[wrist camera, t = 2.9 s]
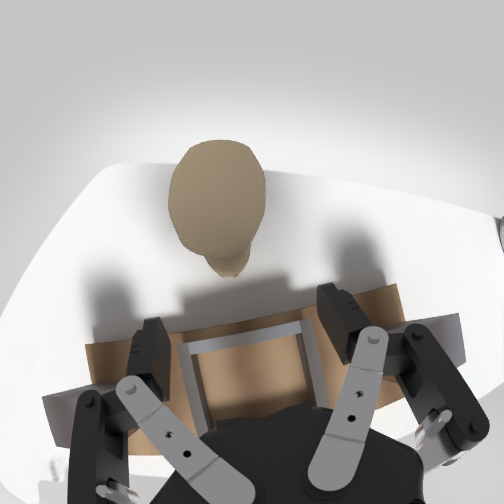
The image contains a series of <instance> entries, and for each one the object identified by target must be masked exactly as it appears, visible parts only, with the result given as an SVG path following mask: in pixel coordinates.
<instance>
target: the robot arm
mask: <svg viewBox="0 0 504 504" xmlns="http://www.w3.org/2000/svg"><path fill="white" fill-rule="evenodd" d="M500 238H501V243H502V247H503V250H504V217H503V218H502V219H501V222H500ZM317 314H318V318H319V320H320V322H321V324H322V326H323V328H324V330H325V331H326V333H327V335H328V337H329V339H330V341H331V343H332V345H333V347H334V349H335V350H336V352H337V354H338V356H339V358H340V360H341V362H342V364H343V366H344V365H347V364H351V365H350V366H349V368H348V371H347V374H346V377H345V380H344V383H343V386H342V389H341V392H340V395H339V397H338V400H337V403H336V405H335V408H334V410H333V409H330V408H325V407H312V405H311V403H310V401H308V402H304V403H301V404H297V405H293V406H289V407H286V408H284V409H282V410H280V411H278V412H276V413H274V414H272V415H270V416H267V417H264V418H247V417H238V418H232V419H225V420H219V421H216V426H217V427H216V428H213V429H211V430H209V431H207V432H206V433H204V434H203V435H202V436H201V437H200V438H198V437H197V436H196V435H195V434H193V433H192V432H191V431H190V430H189V429H188V428H187V427H186V426H185V425H184V424H183V423H182V422H181V421H180V420H179V419H178V418H177V417H176V416H175V415H174V414H173V413H172V412H171V410H170V409H169V408H168V407H167V406H166V405H163V402H167V401H170V369H171V343H170V339H169V336H168V334H167V332H166V330H165V327H164V325H163V323H162V321H161V319H160V317H155V318H149V319H145V320H144V325H143V330H137V332H136V333H135V335H134V336H133V338H132V343H131V348H130V354H129V359H128V364H127V370H126V376H125V378H123V379H122V380H120V381H119V383H118V384H117V386H116V389H115V390H113V391H110V392H107V393H104V394H102V395H100V393H99V392H98V391H96V390H87V391H84V392H83V393H82V394H81V395H80V396H79V397H78V400H77V404H76V410H75V416H74V423H73V430H72V438H71V447H70V457H69V471H68V496H67V498H68V500H67V504H141V501H140V498H139V496H138V495H137V493H136V492H134V491H133V490H131V489H129V468H128V431H129V430H132V429H135V428H138V427H140V429H141V430H142V431H143V433H144V434H145V435H146V436H147V438H148V439H149V440H150V441H151V442H152V444H153V445H154V446H155V447H156V448H157V449H158V451H159V452H160V453H161V454H162V455H163V456H164V457H165V459H166V460H167V461H168V462H169V463H170V464H171V465H172V466H173V467H174V468H175V469H176V470H175V471H174V472H173V474H172V475H171V476H170V478H169V479H168V480H167V482H166V483H165V484H164V486H163V487H162V488H161V490H160V491H159V492H158V494H157V495H156V496H155V497H154V499H153V500H152V501H151V502H150V504H426V503H425V501H424V497H423V476H424V475H425V474H426V473H428V472H430V471H432V470H434V469H436V468H437V467H439V466H441V465H443V466H448V465H451V464H452V463H454V462H455V461H457V460H458V459H459V458H461V457H462V456H463V455H464V454H466V453H467V452H468V451H469V450H471V449H472V448H473V447H475V446H476V445H477V444H478V443H479V442H481V441H482V440H483V439H484V438H485V437H486V436H487V434H488V432H489V428H490V424H489V420H488V418H487V417H486V414H485V413H484V411H483V409H482V408H481V406H480V404H479V403H478V401H477V399H476V398H475V396H474V394H473V393H472V391H471V390H470V388H469V386H468V385H467V383H466V382H465V380H464V379H463V377H462V376H461V374H460V373H459V371H458V370H457V368H456V367H455V365H454V364H453V362H452V361H451V359H450V358H449V356H448V355H447V354H446V352H445V351H444V349H443V348H442V347H441V345H440V344H439V342H438V341H437V340H436V338H435V337H434V336H433V334H432V333H431V331H430V330H429V329H428V328H427V327H426V326H424V325H422V324H418V323H415V324H410V325H408V326H407V327H406V329H405V331H404V333H387V332H386V331H385V330H384V329H382V328H380V327H376V326H374V325H373V324H372V323H371V321H370V320H369V318H368V317H367V316H366V314H365V313H364V311H363V310H362V309H361V308H360V306H359V304H358V303H357V302H356V300H355V299H354V298H353V296H352V295H351V294H350V293H348V292H347V291H345V290H339V291H338V290H337V288H336V287H335V285H334V284H333V283H332V282H331V283H327V284H322V285H318V286H317ZM390 375H394V377H395V379H396V381H397V382H398V384H399V386H400V388H401V390H402V392H403V394H404V396H405V398H406V400H407V402H408V404H409V406H410V408H411V410H412V412H413V414H414V416H415V418H416V420H417V422H418V424H419V427H418V428H417V430H416V432H415V440H416V445H417V446H416V451H415V450H414V449H413V448H411V447H410V446H408V445H405V444H403V443H401V442H399V441H396V440H394V439H392V438H390V437H388V436H386V435H383V434H381V433H379V432H377V431H375V430H373V429H371V428H370V424H371V421H372V417H373V414H374V410H375V406H376V402H377V398H378V394H379V390H380V386H381V382H382V377H383V376H390Z"/></svg>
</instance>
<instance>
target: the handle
mask: <svg viewBox="0 0 504 504" xmlns="http://www.w3.org/2000/svg"><path fill="white" fill-rule="evenodd" d="M168 209H169V213H170V217H171V220H172V222H173V225H174V228H175V230H176V232H177V235H178V237H179V240H180V241H181V243H182V244H183V246H184V247H186V248H187V249H189V250H190V251H192V252H194V253H196V254H199V255H203V256H205V258H206V260H207V262H208V264H209V265H210V266H211V268H212V269H213V270H214V271H215V272H217V273H218V274H219V275H220V276H221V277H226V276H232V277H237V276H239V273H240V272H241V271H242V270H243V269H244V267H245V266H246V264H247V262H248V259H249V255H250V246H251V244H250V243H251V241H252V240H253V238H254V236H255V234H256V232H257V229H258V227H259V225H260V223H261V220H262V218H263V215H264V210H265V179H264V173H263V170H262V168H261V166H260V164H259V162H258V160H257V159H256V157H255V155H254V154H253V152H252V151H251V149H250V148H249V147H248V146H246V145H244V144H241V143H239V142H235V141H230V140H212V141H206V142H202V143H200V144H197V145H195V146H193V147H191V148H190V149H189V150H188V151H187V153H186V154H185V156H184V157H183V158H182V160H181V161H180V163H179V164H178V166H177V167H176V169H175V171H174V173H173V176H172V180H171V185H170V192H169V201H168Z"/></svg>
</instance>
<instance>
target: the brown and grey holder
mask: <svg viewBox="0 0 504 504" xmlns="http://www.w3.org/2000/svg"><path fill="white" fill-rule="evenodd" d="M353 298H354V299H355V300H356V302H357V303H358V304H359V306H360V308H361V309H362V310H363V311H364V313H365V314H366V316H367V317H368V318H369V320H370V321H371V323H372V324H373V325H374V326H376V327H380V328H382V329H384V330H385V331H386V332H387V333H404V331H405V329H406V327H407V326H408V325H410V324H415V323H418V324H422V325H424V326H426V327H427V328H428V329H429V330H430V331H431V333H432V334H433V336H434V337H435V338H436V340H437V341H438V342H439V344H440V345H441V347H442V348H443V349H444V351H445V352H446V354H447V355H448V356H449V358H450V359H451V361H452V362H453V364H454V365H455V367H456V368H457V367H459V366H460V365H462V364H464V363H465V362H466V357H465V349H464V342H463V336H462V330H461V324H460V318H459V313H456V314H450V315H444V316H439V317H432V318H426V319H419V320H412V321H405V318H404V314H403V309H402V305H401V301H400V297H399V293H398V289H397V285H396V283H395V284H392V285H389V286H385V287H382V288H379V289H375V290H372V291H368V292H365V293H361V294H357V295H354V296H353ZM168 336H169V339H170V343H171V369H170V401H167V402H163V405H166V406H167V407H168V408H169V409H170V410H171V412H172V413H173V414H174V415H175V416H176V417H177V418H178V419H179V420H180V421H181V422H182V423H183V424H184V425H185V426H186V427H187V428H188V429H189V430H190V431H191V432H192V433H193V434H195V435H196V436H197V437H198V438H200V437H201V436H202V435H203V434H204V433H206V432H207V431H209V430H211V429H213V428H216V427H217V426H216V421H219V420H225V419H232V418H238V417H247V418H264V417H267V416H270V415H272V414H274V413H276V412H278V411H280V410H282V409H284V408H286V407H289V406H293V405H297V404H301V403H304V402H308V401H310V403H311V405H312V407H325V408H330V409H333V410H334V408H335V405H336V403H337V400H338V397H339V395H340V392H341V389H342V386H343V383H344V380H345V377H346V374H347V371H348V368H349V366H350V365H351V364H347V365H344V366H343V364H342V362H341V360H340V358H339V356H338V354H337V352H336V350H335V349H334V347H333V345H332V343H331V341H330V339H329V337H328V335H327V333H326V331H325V330H324V328H323V326H322V324H321V322H320V320H319V318H318V314H317V305H315V306H311V307H307V308H303V309H298V310H294V311H290V312H285V313H281V314H276V315H272V316H267V317H262V318H258V319H253V320H248V321H243V322H238V323H233V324H227V325H222V326H216V327H211V328H205V329H199V330H193V331H187V332H181V333H175V334H168ZM131 343H132V339H131V340H123V341H114V342H105V343H95V344H85V348H86V354H87V360H88V366H89V371H90V376H91V381H92V384H91V385H87V386H84V387H80V388H76V389H72V390H68V391H64V392H60V393H56V394H51V395H47V396H43V397H42V400H43V404H44V408H45V412H46V415H47V419H48V422H49V426H50V429H51V432H52V435H53V438H54V441H55V444H56V446H57V447H63V448H70V447H71V438H72V430H73V423H74V416H75V410H76V404H77V400H78V397H79V396H80V395H81V394H82V393H83V392H84V391H87V390H96V391H98V392H99V393H100V395H102V394H104V393H107V392H110V391H113V390H115V389H116V386H117V384H118V383H119V381H120V380H122V379H123V378H125V376H126V370H127V364H128V359H129V354H130V348H131ZM404 397H405V396H404V394H403V392H402V390H401V388H400V386H399V384H398V382H397V381H396V379H395V377H394V375H390V376H383V377H382V382H381V386H380V390H379V394H378V398H377V402H376V406H375V410H377V409H379V408H382V407H384V406H386V405H388V404H391V403H393V402H395V401H397V400H400V399H402V398H404ZM128 455H162V454H161V453H160V452H159V451H158V449H157V448H156V447H155V446H154V445H153V444H152V442H151V441H150V440H149V439H148V438H147V436H146V435H145V434H144V433H143V431H142V430H141V429H140V427H138V428H135V429H132V430H129V431H128Z"/></svg>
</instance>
